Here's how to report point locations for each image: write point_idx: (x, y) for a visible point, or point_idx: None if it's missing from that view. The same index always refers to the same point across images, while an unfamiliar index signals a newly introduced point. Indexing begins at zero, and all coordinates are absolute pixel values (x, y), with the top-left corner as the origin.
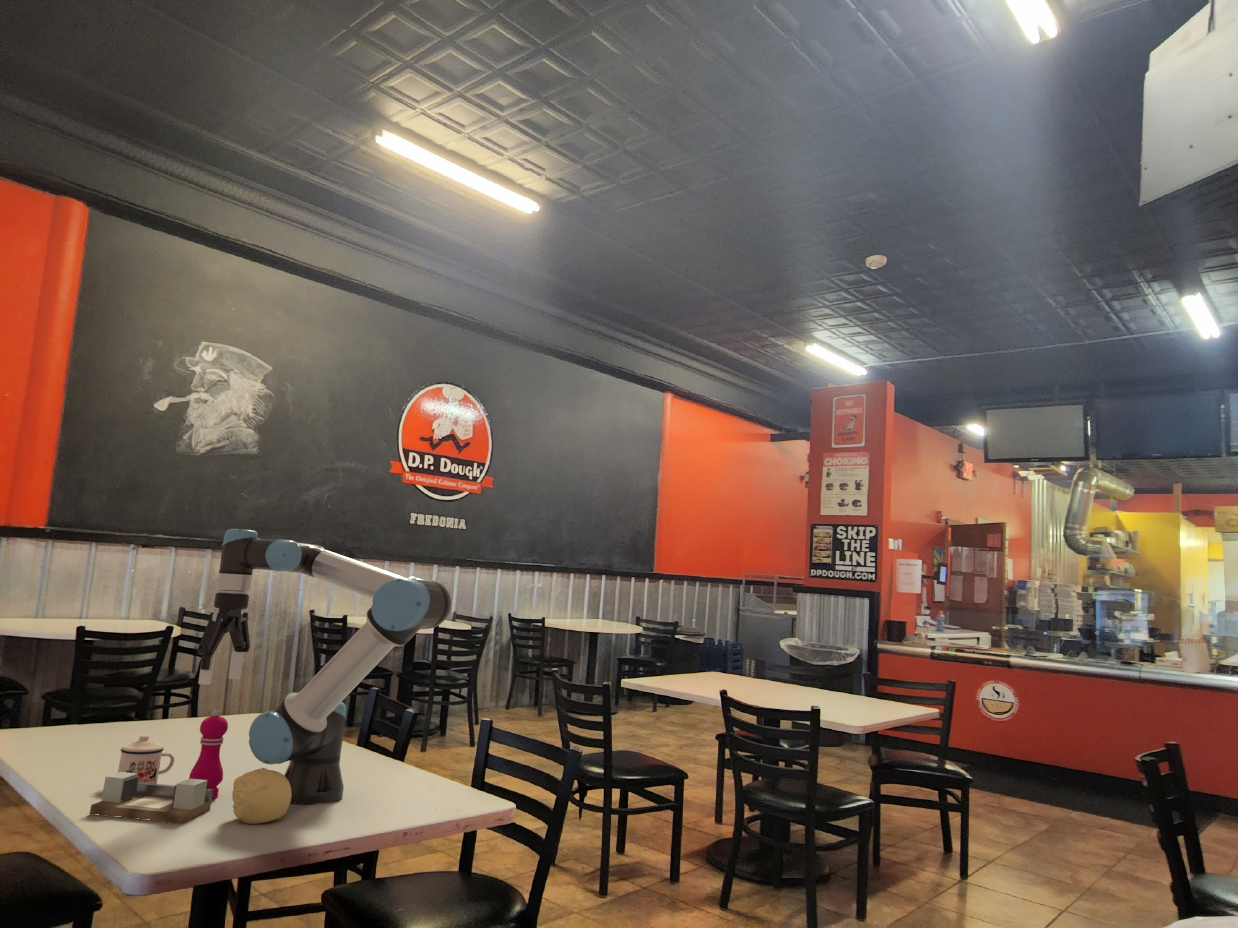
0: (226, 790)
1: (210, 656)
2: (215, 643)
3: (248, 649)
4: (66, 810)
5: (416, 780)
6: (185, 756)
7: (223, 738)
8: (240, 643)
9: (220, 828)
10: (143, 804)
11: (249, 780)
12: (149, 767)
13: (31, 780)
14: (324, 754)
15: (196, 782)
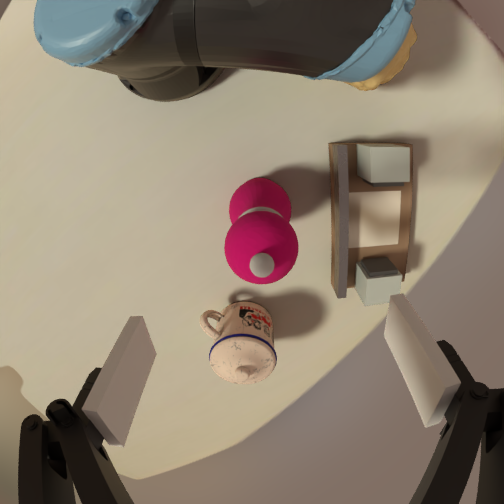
0: (202, 194)
1: (459, 388)
2: (477, 447)
3: (52, 408)
4: (387, 308)
5: (26, 6)
6: (84, 356)
7: (251, 211)
8: (103, 467)
9: (405, 81)
10: (388, 224)
11: (404, 46)
12: (255, 321)
13: (277, 410)
14: None
15: (392, 155)
